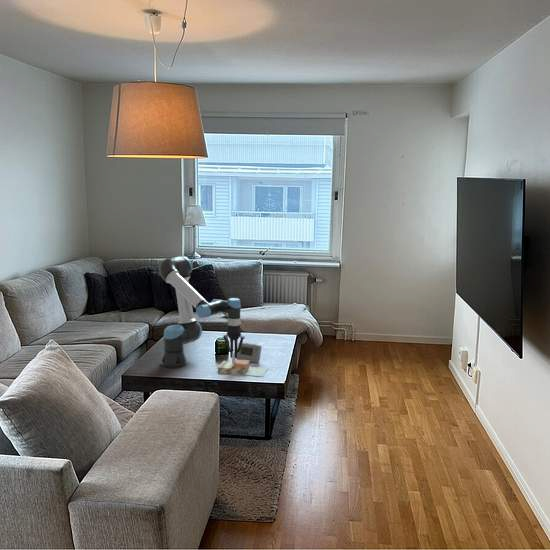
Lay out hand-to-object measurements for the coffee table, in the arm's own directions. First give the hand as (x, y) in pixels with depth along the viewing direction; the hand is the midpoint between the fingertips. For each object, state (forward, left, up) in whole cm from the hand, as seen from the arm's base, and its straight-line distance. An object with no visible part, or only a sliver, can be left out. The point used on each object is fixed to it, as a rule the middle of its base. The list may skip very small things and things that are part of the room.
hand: (233, 362), depth 324 cm
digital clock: (+5, +19, -5) cm, 20 cm away
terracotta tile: (+5, 0, -2) cm, 5 cm away
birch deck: (0, 0, -5) cm, 5 cm away
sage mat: (+14, 0, -5) cm, 14 cm away
